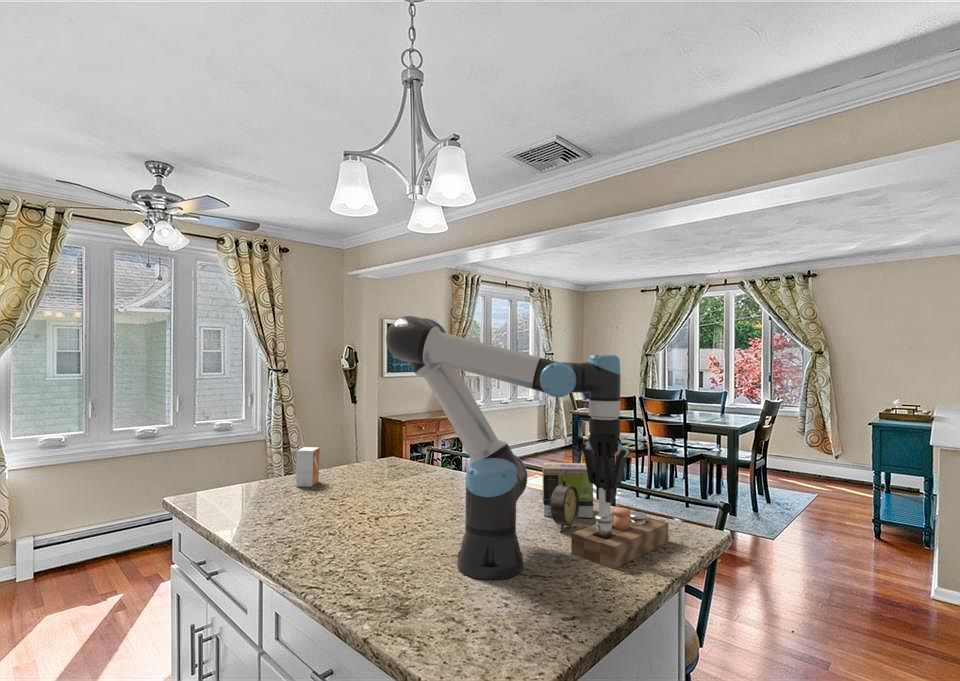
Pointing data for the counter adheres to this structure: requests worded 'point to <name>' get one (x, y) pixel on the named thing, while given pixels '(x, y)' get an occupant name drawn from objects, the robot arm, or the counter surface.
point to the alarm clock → (564, 504)
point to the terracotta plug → (621, 519)
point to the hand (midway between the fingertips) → (604, 514)
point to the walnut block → (619, 543)
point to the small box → (307, 466)
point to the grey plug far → (638, 518)
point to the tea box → (575, 478)
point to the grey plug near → (604, 526)
